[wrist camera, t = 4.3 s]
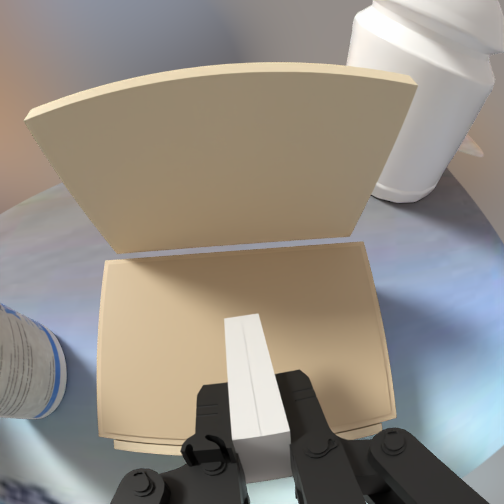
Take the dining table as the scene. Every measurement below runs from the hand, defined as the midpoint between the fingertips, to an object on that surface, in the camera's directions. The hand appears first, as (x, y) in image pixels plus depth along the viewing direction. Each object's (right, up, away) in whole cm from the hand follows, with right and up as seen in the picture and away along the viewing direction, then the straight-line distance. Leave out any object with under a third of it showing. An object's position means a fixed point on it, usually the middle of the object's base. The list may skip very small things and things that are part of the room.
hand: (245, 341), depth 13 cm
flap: (-1, +5, +7) cm, 8 cm away
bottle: (+16, +15, +19) cm, 29 cm away
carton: (-1, -4, +9) cm, 10 cm away
